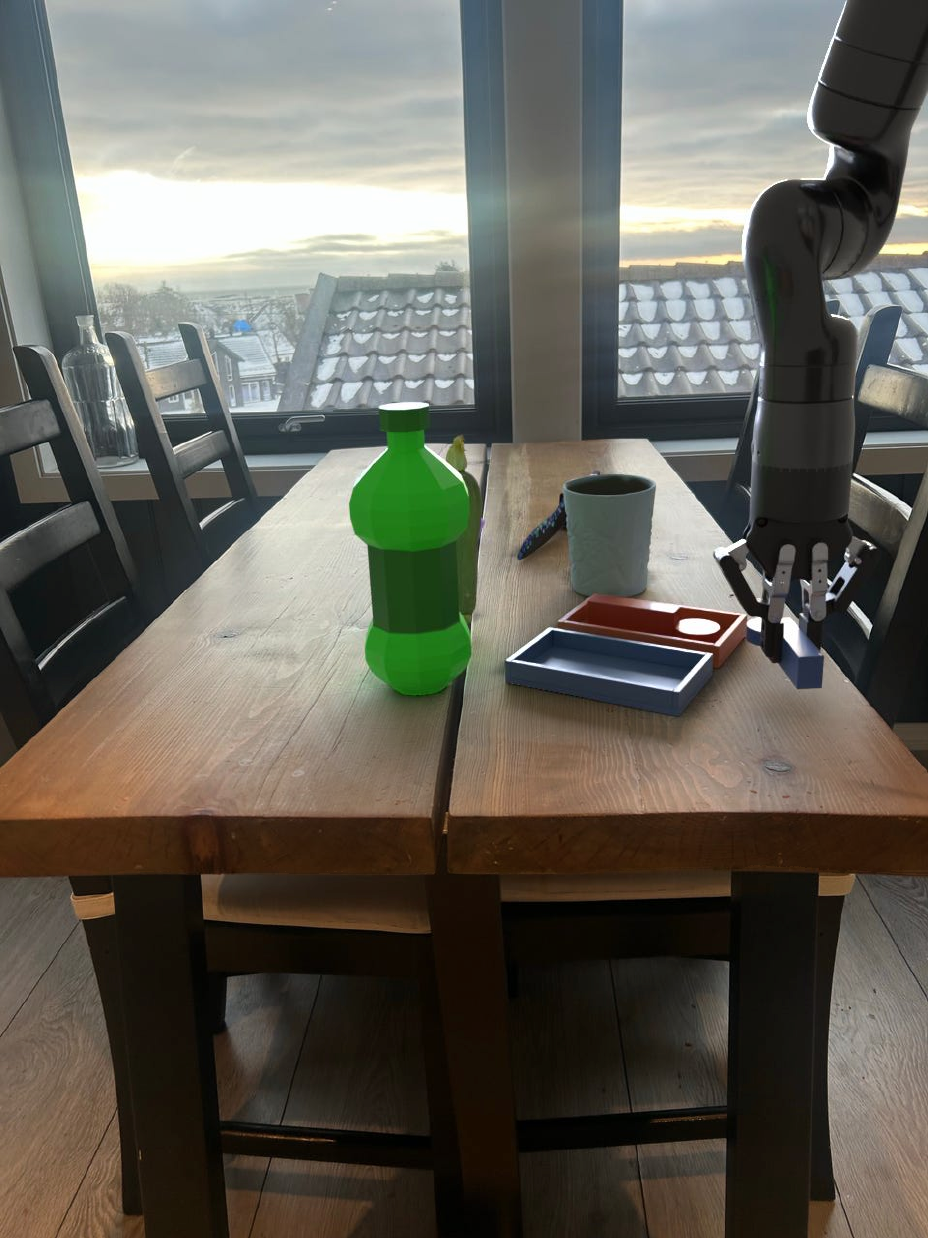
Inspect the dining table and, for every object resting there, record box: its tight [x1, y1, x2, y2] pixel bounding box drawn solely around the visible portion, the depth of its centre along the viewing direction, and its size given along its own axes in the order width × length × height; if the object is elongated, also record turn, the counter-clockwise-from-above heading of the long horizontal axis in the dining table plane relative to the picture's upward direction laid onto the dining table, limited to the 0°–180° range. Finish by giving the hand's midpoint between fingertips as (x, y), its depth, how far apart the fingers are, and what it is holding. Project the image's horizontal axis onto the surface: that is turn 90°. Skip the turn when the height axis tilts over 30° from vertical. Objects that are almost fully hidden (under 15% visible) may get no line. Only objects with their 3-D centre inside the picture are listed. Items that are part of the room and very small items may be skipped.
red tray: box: [557, 593, 748, 669], centre depth 99 cm, size 16×9×2 cm, turn 60°
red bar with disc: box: [587, 595, 721, 644], centre depth 98 cm, size 13×4×3 cm, turn 60°
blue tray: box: [504, 627, 714, 717], centre depth 90 cm, size 16×9×2 cm, turn 60°
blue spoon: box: [745, 616, 825, 690], centre depth 85 cm, size 13×4×3 cm, turn 179°
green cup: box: [562, 473, 657, 598], centre depth 112 cm, size 10×10×12 cm
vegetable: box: [445, 434, 483, 625], centre depth 101 cm, size 4×4×20 cm
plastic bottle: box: [348, 401, 472, 697], centre depth 87 cm, size 10×10×25 cm
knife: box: [516, 470, 601, 561], centre depth 136 cm, size 31×3×4 cm, turn 151°
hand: (789, 658), depth 84 cm, fingers closed on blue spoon, 2 cm apart
